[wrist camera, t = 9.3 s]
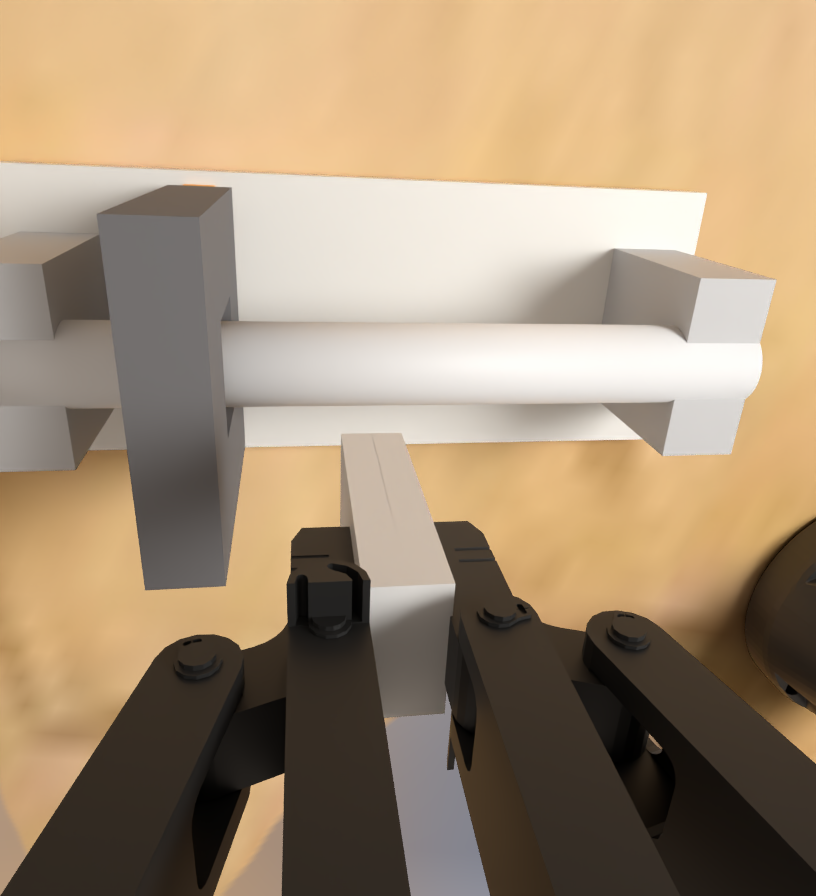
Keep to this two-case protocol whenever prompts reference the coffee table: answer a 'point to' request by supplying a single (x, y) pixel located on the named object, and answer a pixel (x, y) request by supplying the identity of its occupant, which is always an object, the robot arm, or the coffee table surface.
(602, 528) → the coffee table surface
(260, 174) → the pipe stand
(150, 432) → the collar
